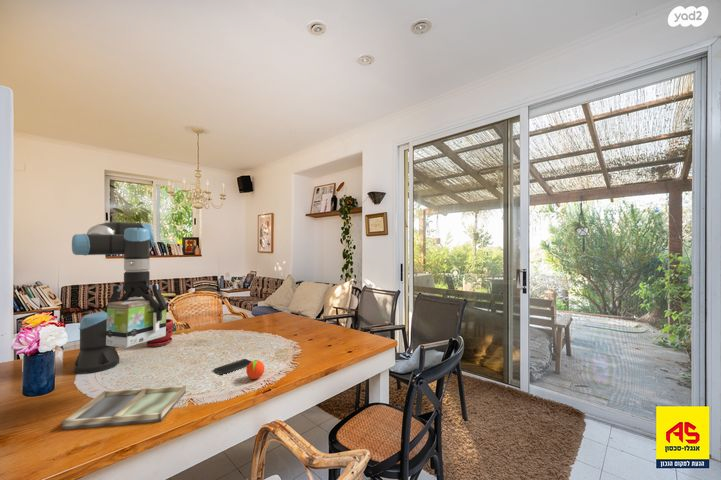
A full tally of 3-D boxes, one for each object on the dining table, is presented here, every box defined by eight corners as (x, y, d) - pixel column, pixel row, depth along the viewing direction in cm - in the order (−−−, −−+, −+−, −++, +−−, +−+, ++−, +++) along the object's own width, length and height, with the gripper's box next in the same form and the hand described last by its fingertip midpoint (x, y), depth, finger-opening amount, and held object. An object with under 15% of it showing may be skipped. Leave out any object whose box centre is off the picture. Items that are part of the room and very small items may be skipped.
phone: (212, 369, 131) (244, 358, 143) (212, 371, 131) (244, 360, 143) (222, 373, 126) (254, 362, 138) (222, 376, 126) (254, 365, 138)
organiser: (61, 429, 90) (61, 421, 90) (104, 397, 108) (104, 391, 108) (161, 421, 94) (161, 413, 94) (185, 392, 113) (185, 385, 113)
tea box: (127, 348, 103) (127, 303, 104) (105, 346, 106) (105, 302, 106) (167, 336, 118) (167, 296, 118) (146, 334, 120) (146, 296, 121)
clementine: (262, 382, 120) (262, 364, 120) (244, 384, 119) (244, 365, 119) (265, 374, 128) (265, 356, 128) (248, 375, 127) (248, 357, 127)
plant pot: (157, 340, 172) (157, 318, 173) (178, 341, 171) (178, 319, 171) (137, 347, 160) (137, 324, 160) (160, 349, 158) (160, 325, 158)
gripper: (91, 272, 107) (91, 335, 106) (168, 270, 110) (168, 332, 110) (106, 270, 114) (105, 330, 113) (178, 269, 117) (177, 326, 117)
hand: (136, 331), depth 111 cm, fingers closed on tea box, 12 cm apart
